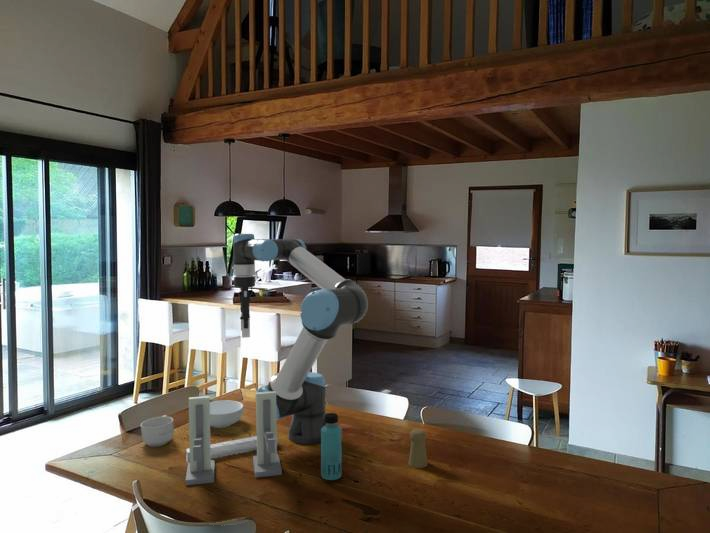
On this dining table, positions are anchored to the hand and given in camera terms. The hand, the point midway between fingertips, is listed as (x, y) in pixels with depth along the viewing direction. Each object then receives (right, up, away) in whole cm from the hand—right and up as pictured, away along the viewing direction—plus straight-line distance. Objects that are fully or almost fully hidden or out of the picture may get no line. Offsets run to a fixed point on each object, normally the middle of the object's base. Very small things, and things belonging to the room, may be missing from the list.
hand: (245, 333), depth 191 cm
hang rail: (-1, -38, -16) cm, 42 cm away
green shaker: (+60, -39, -25) cm, 76 cm away
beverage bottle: (+33, -39, -36) cm, 63 cm away
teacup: (-29, -38, -7) cm, 48 cm away
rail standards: (+4, -39, -35) cm, 53 cm away
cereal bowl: (-11, -36, +10) cm, 39 cm away
